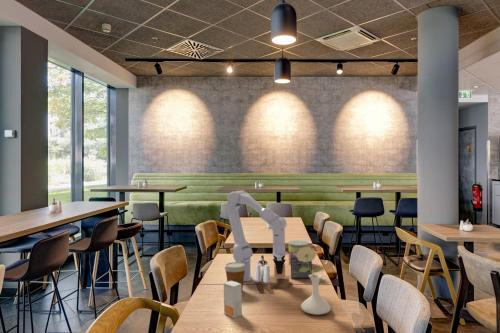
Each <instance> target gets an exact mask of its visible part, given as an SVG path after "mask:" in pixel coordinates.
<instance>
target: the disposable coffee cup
mask: <svg viewBox="0 0 500 333" xmlns="http://www.w3.org/2000/svg"><path fill="white" fill-rule="evenodd" d="M245 268H246V267H245V264H244V263H241V262H232V261H231V262H227V263H226V264H225V266H224V270H225V275H226V280H227V281H226V282H228V281H234V282H237V283H240V284H241V287H242V291H243V289H244V288H243V287H244V281H243V280H244V271H245Z"/></svg>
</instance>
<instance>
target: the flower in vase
mask: <svg viewBox="0 0 500 333" xmlns="http://www.w3.org/2000/svg"><path fill="white" fill-rule="evenodd" d="M296 256H297V258H298V260H299V261H303V262H308V261H311V260H312V261H313V260H314V259H315V258H316V257H317V252H316V250H315V248H312V247H311V246H308V247H306V248H305V247H303V249H300V250H299V251H298V254H296ZM308 268H309V264H308ZM308 268H306V267H302V268H301V269H299V271H300V272H307V271H308V270H310V268H309V269H308ZM321 269H322V266H318V267H316V268H315V267H314V269H312V271H311V270H310V271H311V273H312V274H310V275H309V277H310V279H309V280H310V281H311V286H312V291H311V295H310V296H309V297H307V298H306V299H305V300H304V301H303V302H302V303H301V305H300V308H301V310H302V311H303V312H305V313H307V314H310V315H316V316H317V315H324V314H327V313H329V312H330V311H331V309H332V308H331V304H330V303H329V302H328V301H327V300H325V298H323V297H322V296H321V295H320V293H319V285H320V284H319V283H320V281H321V278H322V277H323V276H322V275H321V274H318V273H319V272H320V270H321Z"/></svg>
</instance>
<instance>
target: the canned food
mask: <svg viewBox="0 0 500 333" xmlns="http://www.w3.org/2000/svg"><path fill="white" fill-rule="evenodd" d="M303 247H305V248H306V247H308V248H309V242H308V241H306V240H291V241H290V240H289V242H288V265H289V266H291V255H296V254H298V251H299V250H300V249H303Z"/></svg>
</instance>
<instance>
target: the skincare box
mask: <svg viewBox="0 0 500 333" xmlns="http://www.w3.org/2000/svg"><path fill="white" fill-rule="evenodd" d="M242 293H243V290H242V287H241V284H240V283H237V282H234V281H228V282H227V281H226V282H223V313H224V314H225V315H227V316H229V317H232V318H233V319H236V318H238V317H240V316H242V315H243V307H242V306H243V305H242V304H243V302H242V301H243V298H242V297H243V296H242Z"/></svg>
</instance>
